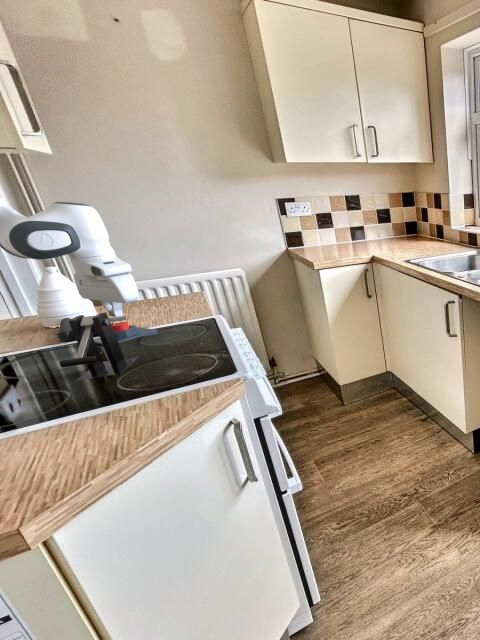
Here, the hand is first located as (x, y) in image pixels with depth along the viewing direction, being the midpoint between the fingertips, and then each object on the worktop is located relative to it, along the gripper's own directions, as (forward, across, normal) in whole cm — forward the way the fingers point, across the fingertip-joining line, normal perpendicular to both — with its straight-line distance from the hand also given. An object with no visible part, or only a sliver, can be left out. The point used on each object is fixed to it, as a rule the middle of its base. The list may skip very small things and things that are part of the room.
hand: (116, 316), depth 116 cm
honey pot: (+7, -39, +6) cm, 40 cm away
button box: (+7, 0, 0) cm, 7 cm away
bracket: (+7, +22, -15) cm, 28 cm away
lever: (-1, +25, -18) cm, 31 cm away
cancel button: (+4, 0, 0) cm, 4 cm away
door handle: (+8, -21, +3) cm, 23 cm away
